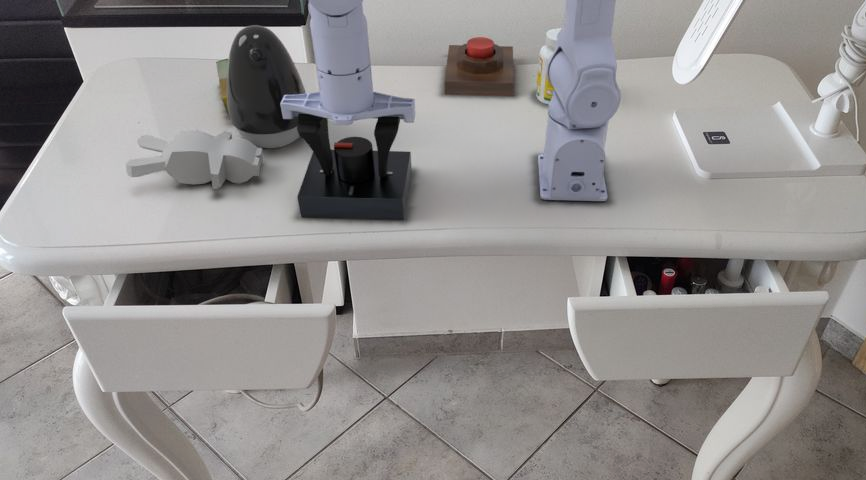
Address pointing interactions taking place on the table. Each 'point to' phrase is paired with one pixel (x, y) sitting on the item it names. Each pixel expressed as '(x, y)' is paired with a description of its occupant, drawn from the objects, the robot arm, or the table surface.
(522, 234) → the table surface
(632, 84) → the table surface
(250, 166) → the bunny figurine
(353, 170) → the dial
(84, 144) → the table surface
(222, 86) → the medication box
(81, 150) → the table surface
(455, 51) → the button box
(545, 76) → the supplement bottle
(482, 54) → the button
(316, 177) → the dial panel
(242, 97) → the black glossy egg shape
